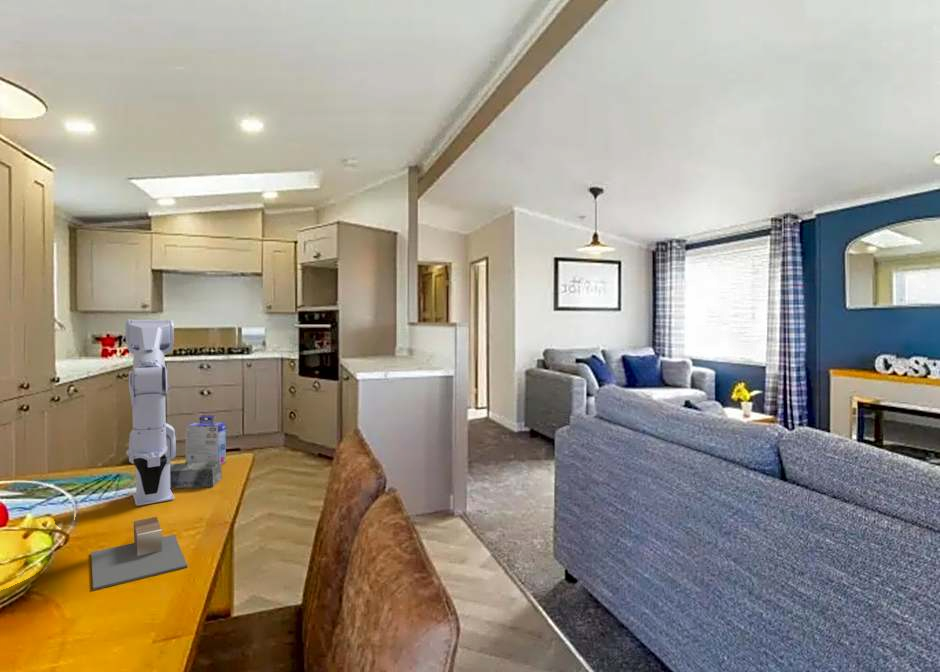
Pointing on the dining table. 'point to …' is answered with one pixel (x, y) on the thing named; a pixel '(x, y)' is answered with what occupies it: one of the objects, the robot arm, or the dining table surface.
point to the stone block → (195, 474)
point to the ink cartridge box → (206, 441)
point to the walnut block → (147, 536)
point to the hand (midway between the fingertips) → (150, 493)
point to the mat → (134, 563)
